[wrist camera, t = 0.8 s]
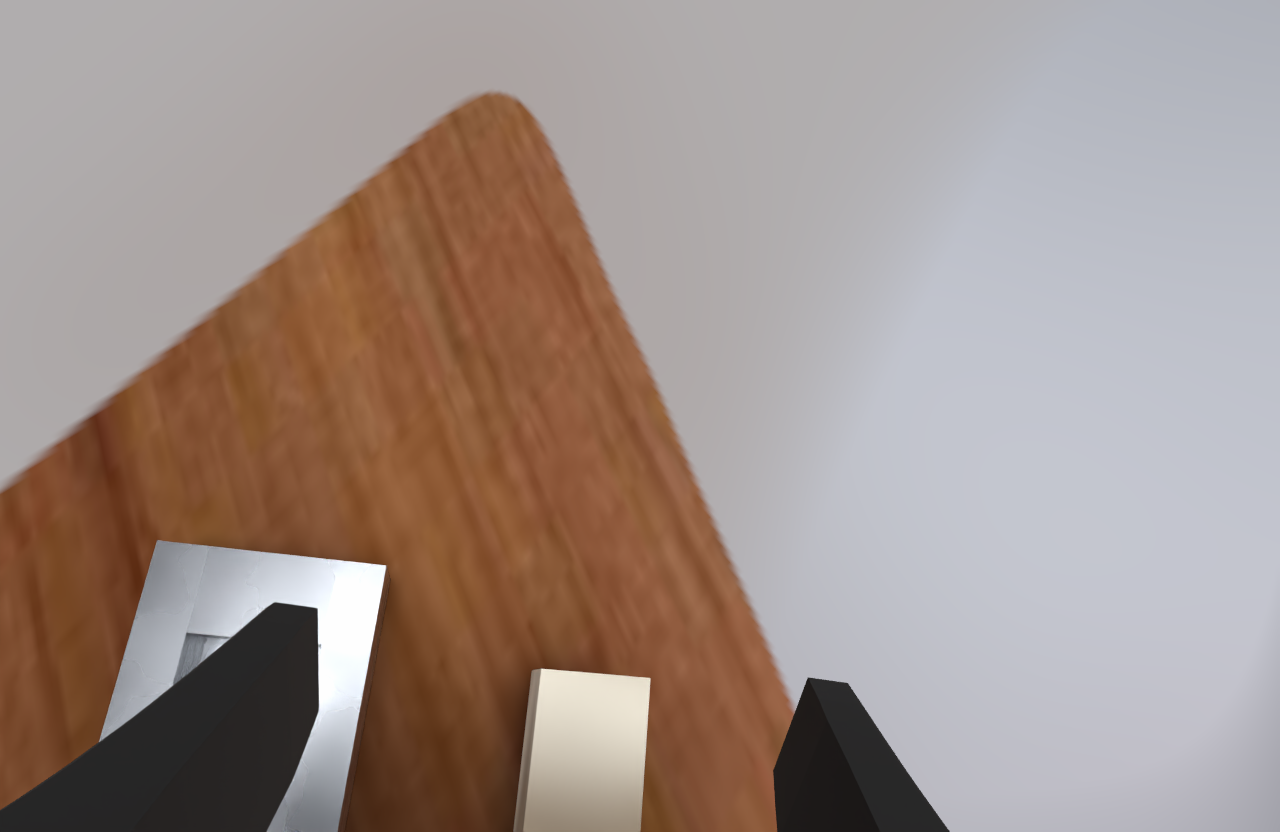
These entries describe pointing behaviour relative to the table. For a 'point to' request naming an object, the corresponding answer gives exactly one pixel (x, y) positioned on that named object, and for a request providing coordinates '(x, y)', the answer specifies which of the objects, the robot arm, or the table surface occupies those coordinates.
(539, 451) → the table surface
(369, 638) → the slot rail
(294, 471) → the table surface
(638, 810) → the cream stepped block
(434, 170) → the table surface
